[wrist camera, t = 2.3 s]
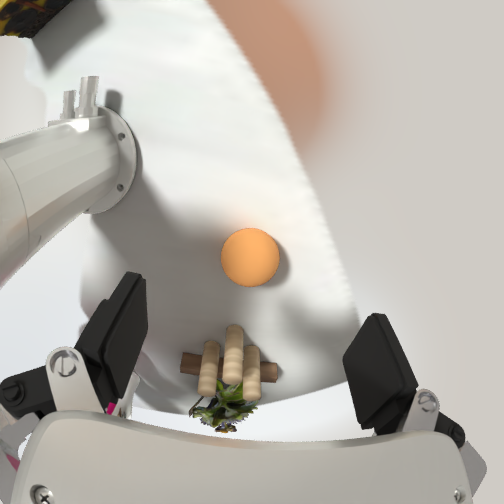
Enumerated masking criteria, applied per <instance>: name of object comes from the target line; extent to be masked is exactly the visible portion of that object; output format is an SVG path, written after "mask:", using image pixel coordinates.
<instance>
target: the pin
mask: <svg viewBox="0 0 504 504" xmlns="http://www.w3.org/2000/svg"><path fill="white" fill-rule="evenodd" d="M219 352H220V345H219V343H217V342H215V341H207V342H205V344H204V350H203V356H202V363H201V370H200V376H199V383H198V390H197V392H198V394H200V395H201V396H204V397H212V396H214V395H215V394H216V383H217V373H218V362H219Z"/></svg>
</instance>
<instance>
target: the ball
mask: <svg viewBox="0 0 504 504" xmlns="http://www.w3.org/2000/svg"><path fill="white" fill-rule="evenodd" d="M279 260H280V255H279V250H278V247H277V244H276V243H275V241H274V240H273V238H272V237H271V236H270V235H268V234H267V233H266V232H264V231H262V230H259V229H255V228H246V229H242V230H239V231H237V232H235V233H233V234H232V235H231V236H230V237H229V238H228V239H227V240H226V242H225V243H224V245H223V248H222V251H221V264H222V267H223V270H224V272H225V273H226V275H227V276H228V277H229V278H230V279H231V280H232V281H233V282H235V283H236V284H239V285H241V286H245V287H256V286H259V285H262V284H264V283H266V282H267V281H269V280H270V279H271V278H272V277H273V276H274V274H275V273H276V271H277V269H278V266H279Z"/></svg>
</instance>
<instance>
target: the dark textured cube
mask: <svg viewBox="0 0 504 504" xmlns="http://www.w3.org/2000/svg"><path fill="white" fill-rule="evenodd" d="M70 1H72V0H0V36H4V35H7V36H18V38H24V37H26V38H32V37H33V36H34V35H35V34H37V32H38V31H39V30H40V29H41V28H43V27H44V25H45V24H46V23H47V22H48V21H49V20H51V19H52V18H53V17H54V16H55V15H56V14H57V13H58V12H59V11H60V10H62V9H63V8H64V7H65V6H66V5H67V4H68V3H69V2H70Z"/></svg>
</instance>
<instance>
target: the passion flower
mask: <svg viewBox="0 0 504 504" xmlns="http://www.w3.org/2000/svg"><path fill="white" fill-rule="evenodd" d="M216 392H217V393H218V394H217V393H216V394H215V397H216V398H213V399H212V400H211V402H210V404H209V406H208V407H206V408H205V407H201V406H199V407H197V408H196V407H195V406H197V404H199V402H200V401H201V400H202V399H203V398H204V396H202V397H201V398H200V399H199V400H198V402H197V403H196V404H195V405H194V406H193V407H192V408H191V409H190V410H189V417H190V416H191V415H192V413H193V418H196V417H202V418H201V419H200V420H201V421H202V422H201V423H203V424H204V425H205V424H207V425H210V426H211V427H213V428H215V427H217V426H218V427H217V428H216V429H215V431H216V432H222V433H228V431H231V432H236V431H237V430H236V428H235V426H233V425H231V423H233V424H234V423H236V421H237V422H241V420H244V417H247V416H248V415H249V414H248V413H253V411H252V410H253V409H258V408H257V407H255V405H256V404H257V403H258V400H257V401H254V402H251V403H249V404H246V401H247V400H244V399H243V380H242V382H241V383H240V384H237V385H230V386H229V387H227V388H226V389H223V385H222V383H221V382H220V381H219V380H218V379H217V383H216ZM217 397H218V398H217ZM245 404H246V405H245ZM226 423H227V424H226ZM236 424H237V423H236ZM220 425H222V426H220ZM229 427H231V428H229Z"/></svg>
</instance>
